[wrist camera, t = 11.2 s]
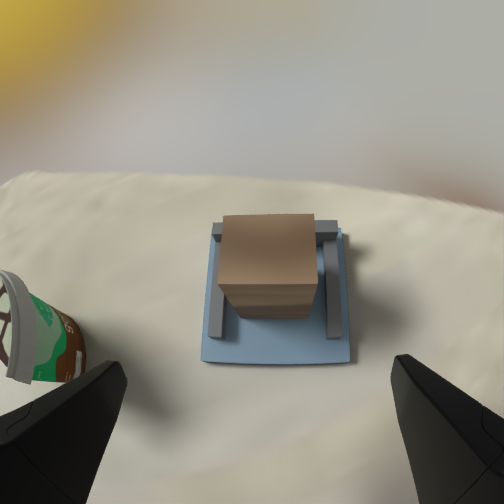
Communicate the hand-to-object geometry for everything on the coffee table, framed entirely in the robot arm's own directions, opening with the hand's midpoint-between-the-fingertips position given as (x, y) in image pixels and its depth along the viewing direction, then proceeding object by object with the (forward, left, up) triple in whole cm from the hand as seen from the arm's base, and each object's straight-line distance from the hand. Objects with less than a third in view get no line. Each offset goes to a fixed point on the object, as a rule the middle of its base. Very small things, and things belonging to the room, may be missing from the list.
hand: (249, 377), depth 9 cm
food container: (+6, +20, -14) cm, 25 cm away
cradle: (+7, -1, -14) cm, 15 cm away
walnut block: (+7, -1, -13) cm, 14 cm away
